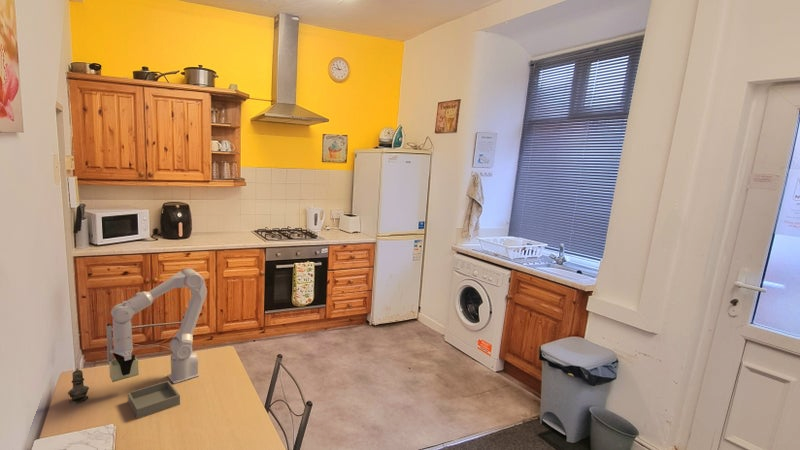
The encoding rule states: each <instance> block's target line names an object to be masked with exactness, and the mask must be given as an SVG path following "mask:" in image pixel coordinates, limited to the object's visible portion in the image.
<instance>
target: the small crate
mask: <svg viewBox="0 0 800 450" xmlns="http://www.w3.org/2000/svg"><path fill="white" fill-rule="evenodd" d="M108 364H109V365H108V366H109V369H108V370H109V379H111V382H112V383H115V382H118V381H121V380H126V379H129V378H134V377H136V376H139V359H138V358H137V356H136V355H135V359H134V361H133V363H132V366H131V370H130V374H128V375H124V376H123V375H122V372H121V368H120V365H119V363H118V362H117V360H116V359H113V360H110V361H108Z"/></svg>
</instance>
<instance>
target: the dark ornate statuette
mask: <svg viewBox="0 0 800 450" xmlns="http://www.w3.org/2000/svg"><path fill="white" fill-rule="evenodd" d="M84 381H85V378H84V375H83V370H80V369H79V368H78V367H77V368H76V369H75V370H74V371H73V372H72V380H71V383H72V388H71V389H70V390H69V391H68V392H67V394H68V396H69V397H70V398H71V399H70V400H69V403H70V404H71V403H72V405H77V404H81V403H83V402H86V401H87V400H88V399H89V395H87V394H88V392H89V389H90V388H89V386H88V385H84V384H85V383H84Z"/></svg>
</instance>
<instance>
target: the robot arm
mask: <svg viewBox="0 0 800 450" xmlns="http://www.w3.org/2000/svg"><path fill="white" fill-rule="evenodd" d="M185 286H186V287H187V288H188V290H189V291H190V292H191V296H190V299H189V302H188V304H187V308H186V309H185V312H184V315H183V318H182V321H181V323H180V326H179V330H178V331H177V332H176V333H175V334H174V337H173V338H172V339H171V340H170V341H169V344H168V346H169V347H168V348H169V349H170V351H172V353H171V355H170V373H169V374H168V375H167V377H168V378H169V379H170V382H172V384H178V383H181V382H183V381H186V380H187V381H188V380H191V379H194V378H196V377H199V376H200V374H199V358H198V355H197V353H196V351H195V352H193V343H194V339H193V338H194V337H193V336H194V331H195V329H196V325H197V323H198V320H199V316H200V314H201V312H202V309H203V306H204V302H205V301H206V297H207V295H208V290H207V286H206V282H205V278H204V277H203V276H202V275H201V274H200V273H198V272H197V271H196V270H195V269H193V268H191V267H187V268H184V269H182V270H181V271H178V272H176V273H175V274H173V275H172V276H170V277H169V278H168V279H166V280H165V281H163V282H161V283H160V284H159V285H157V286H155V287H153V288H152V289H150V290H148V291H141V292H139V291H138V292H136V293H135V295H134V296H133V297H131V298H129V299H128V300H123V301H122V303H117V304H116V305H114V306H113V307H112V309H111V311H110V316H111V317H112V339H113V340H112V342H113V349H110V350H109V353H110V354H112V355H113V356H114V358H115V360H117V362H118V363H119V365H120V368H121V372H122V375H123V376H124V375H128V374H130V370H131V366H132V363H133V361H134V359H135V356H136V355H135V354H132V352H133V350H134V345H133V327H132V325H133V324H132V319H133V317H134V315H136V314H138V313H139V312H141V311H142V310H144V309H147V307H149V306H151V305H153V303H154V300H155V299H157V298H159V297H160V296H162V295H164V294H166V293H168V292H170V291H171V290H174V289H175V288H176V289H185Z"/></svg>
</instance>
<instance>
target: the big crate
mask: <svg viewBox="0 0 800 450" xmlns="http://www.w3.org/2000/svg"><path fill="white" fill-rule="evenodd" d="M180 396H181V395H180V393H179V392H178V391H177V389H176V388H175V387H174V385H173V383H171V381H169V380H166V381H162V382H159V383H155V384H152V385H149V386H145V387H142V388H139V389H136V390H132V391H129V392H127V403H128V404H129V406H130V408H131V410H132V412H133V413H134V416H135V417H136V419H137V420H138V419H142V418H145V417H147V416H150V415H153V414H155V413H159V412H162V411H164V410H167V409H170V408H174V407H176V406H180V405H181V397H180Z"/></svg>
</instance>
